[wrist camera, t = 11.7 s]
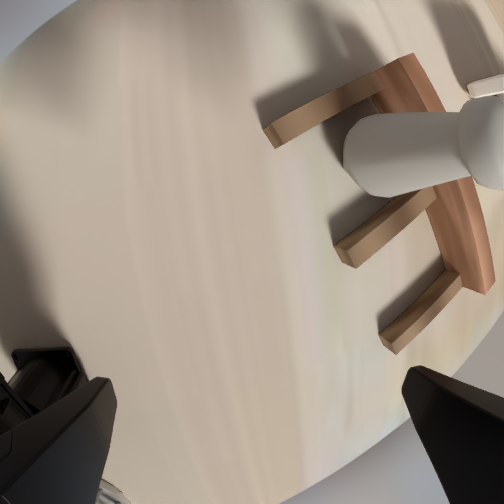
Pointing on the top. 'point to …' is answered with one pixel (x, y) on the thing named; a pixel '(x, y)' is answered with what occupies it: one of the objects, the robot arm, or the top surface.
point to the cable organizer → (487, 87)
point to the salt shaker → (427, 148)
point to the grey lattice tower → (110, 495)
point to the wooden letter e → (407, 197)
